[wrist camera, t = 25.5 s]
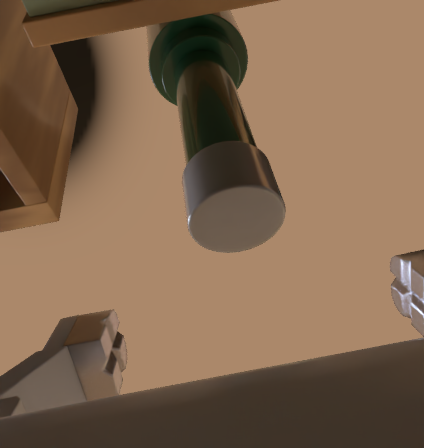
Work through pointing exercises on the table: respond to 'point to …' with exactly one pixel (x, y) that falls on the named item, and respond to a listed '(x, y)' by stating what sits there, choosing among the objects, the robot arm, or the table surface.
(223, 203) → the bottle
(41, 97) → the shelf
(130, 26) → the block
